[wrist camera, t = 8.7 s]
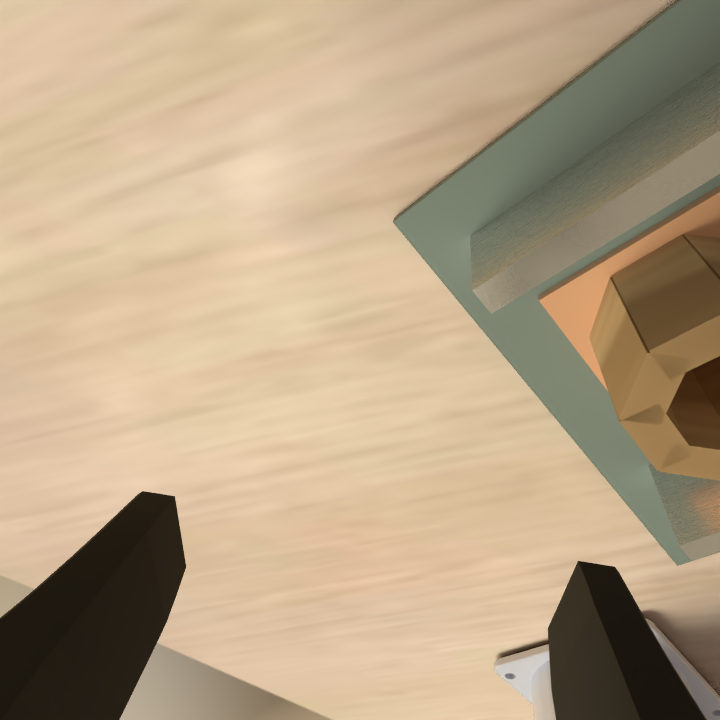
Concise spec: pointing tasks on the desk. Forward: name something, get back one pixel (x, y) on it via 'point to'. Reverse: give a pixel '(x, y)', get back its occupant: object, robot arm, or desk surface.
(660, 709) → the robot arm
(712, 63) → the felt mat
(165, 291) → the desk surface
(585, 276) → the pad
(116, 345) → the desk surface
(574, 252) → the metal walled tray
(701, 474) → the oak ring
